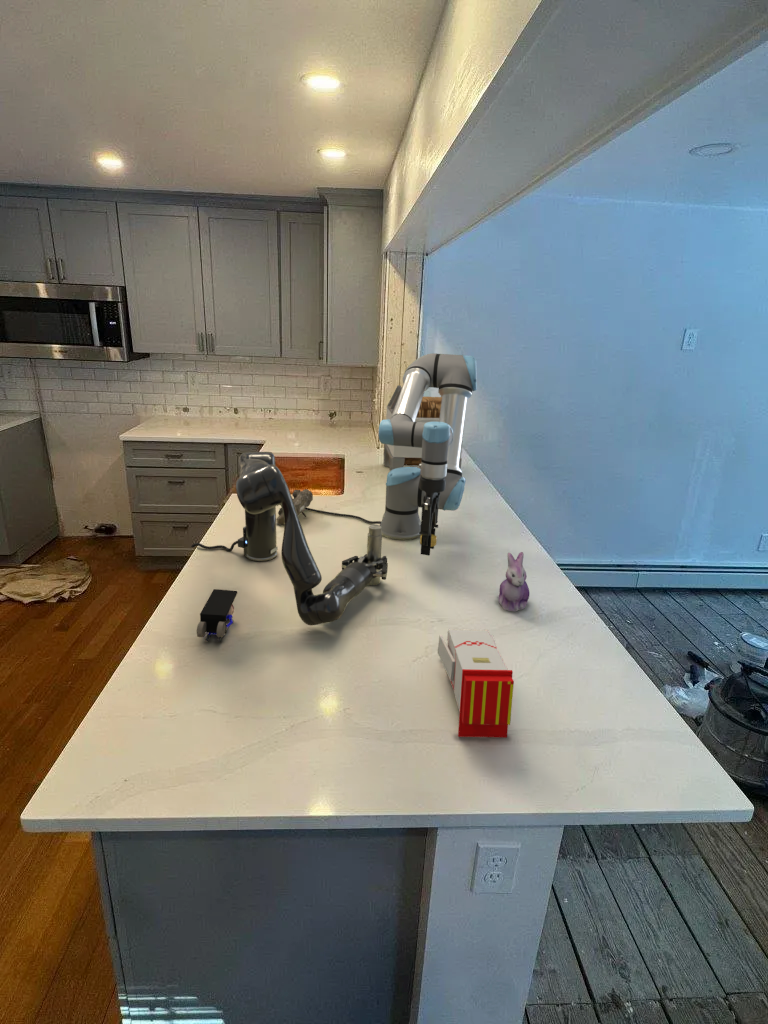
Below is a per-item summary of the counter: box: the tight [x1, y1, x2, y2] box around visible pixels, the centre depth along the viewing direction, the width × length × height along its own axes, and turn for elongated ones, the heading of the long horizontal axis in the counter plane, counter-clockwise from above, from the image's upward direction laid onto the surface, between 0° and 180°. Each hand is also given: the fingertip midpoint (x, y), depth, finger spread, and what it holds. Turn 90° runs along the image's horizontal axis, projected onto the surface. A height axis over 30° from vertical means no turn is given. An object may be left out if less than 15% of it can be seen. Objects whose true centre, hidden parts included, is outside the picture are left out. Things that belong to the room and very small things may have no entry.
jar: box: [366, 524, 383, 586], centre depth 161 cm, size 4×4×17 cm
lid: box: [419, 534, 438, 547], centre depth 169 cm, size 5×5×2 cm
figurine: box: [497, 551, 530, 612], centre depth 152 cm, size 9×10×15 cm
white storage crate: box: [383, 384, 465, 472], centre depth 268 cm, size 34×33×41 cm
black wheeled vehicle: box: [196, 588, 238, 643], centre depth 135 cm, size 7×8×15 cm
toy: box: [437, 628, 515, 738], centre depth 117 cm, size 12×13×30 cm
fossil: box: [276, 488, 314, 526], centre depth 210 cm, size 22×10×15 cm
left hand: (377, 557), depth 164 cm, fingers closed on jar, 4 cm apart
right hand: (427, 551), depth 171 cm, fingers closed on lid, 5 cm apart
